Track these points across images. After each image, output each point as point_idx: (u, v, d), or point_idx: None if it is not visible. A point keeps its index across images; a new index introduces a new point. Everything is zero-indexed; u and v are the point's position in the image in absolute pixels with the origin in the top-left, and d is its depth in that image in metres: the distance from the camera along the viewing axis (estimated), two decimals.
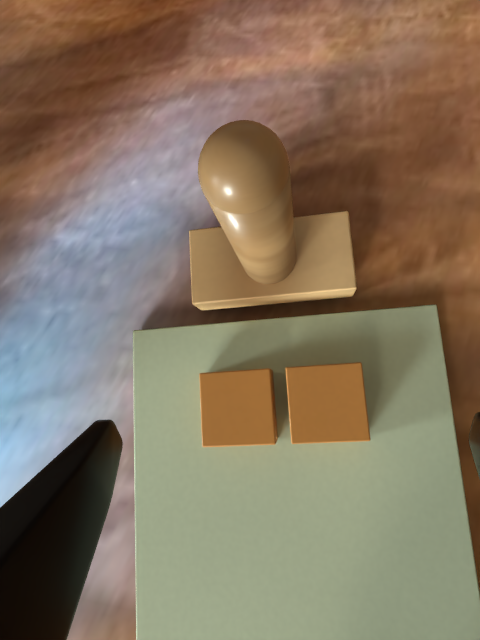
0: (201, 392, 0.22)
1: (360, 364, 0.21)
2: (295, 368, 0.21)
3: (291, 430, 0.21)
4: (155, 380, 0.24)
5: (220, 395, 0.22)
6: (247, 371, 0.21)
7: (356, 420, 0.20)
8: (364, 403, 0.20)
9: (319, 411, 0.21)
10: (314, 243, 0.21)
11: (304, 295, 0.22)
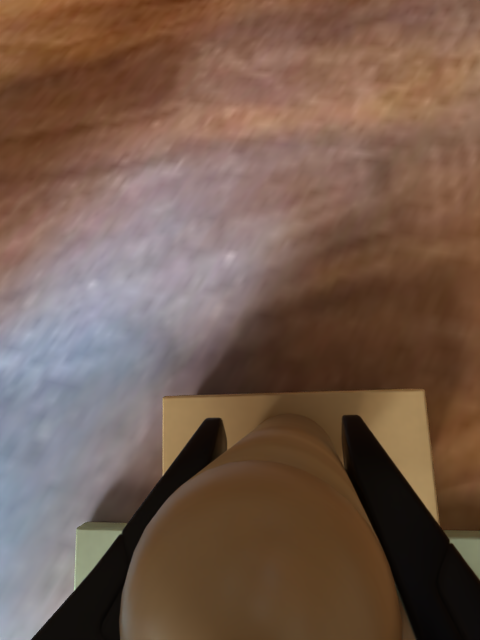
0: None
1: None
2: None
3: None
4: None
5: None
6: None
7: None
8: None
9: None
10: None
11: None
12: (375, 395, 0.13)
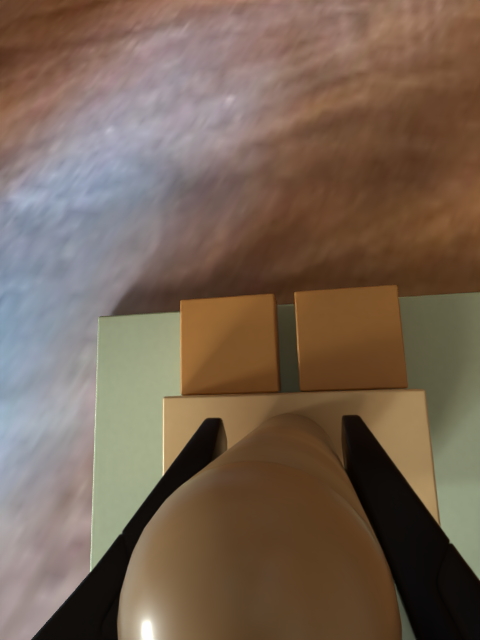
0: (182, 324, 0.16)
1: (395, 287, 0.15)
2: (307, 292, 0.16)
3: (300, 373, 0.15)
4: (125, 382, 0.18)
5: (207, 327, 0.16)
6: (243, 297, 0.16)
7: (388, 360, 0.15)
8: (400, 338, 0.15)
9: (339, 348, 0.15)
10: None
11: None
12: (375, 395, 0.13)
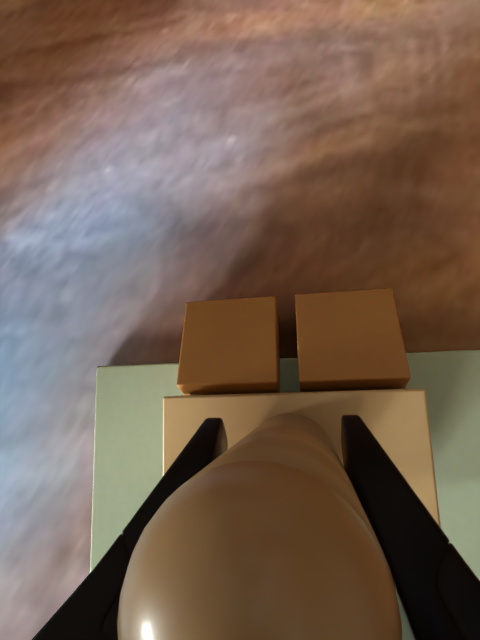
0: (185, 321, 0.17)
1: (391, 289, 0.16)
2: (307, 294, 0.17)
3: (299, 364, 0.15)
4: (123, 436, 0.18)
5: (209, 324, 0.17)
6: (246, 298, 0.17)
7: (389, 352, 0.15)
8: (399, 332, 0.15)
9: (338, 341, 0.15)
10: None
11: None
12: (375, 395, 0.13)
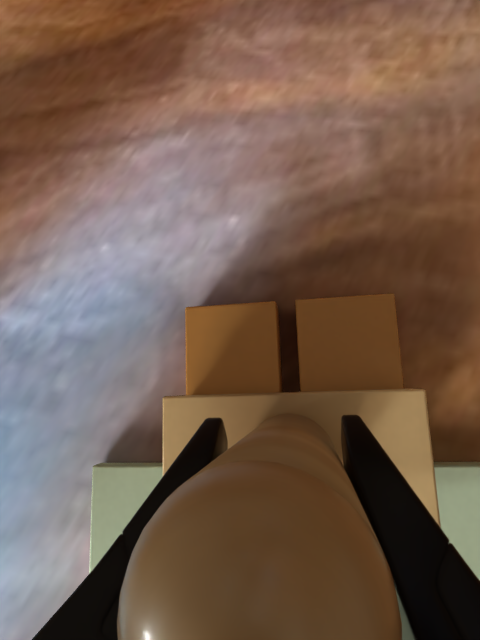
0: (187, 330, 0.17)
1: (392, 295, 0.16)
2: (308, 301, 0.16)
3: (301, 378, 0.16)
4: None
5: (211, 334, 0.17)
6: (246, 304, 0.17)
7: (385, 366, 0.16)
8: (397, 345, 0.16)
9: (338, 354, 0.16)
10: None
11: None
12: (375, 395, 0.13)
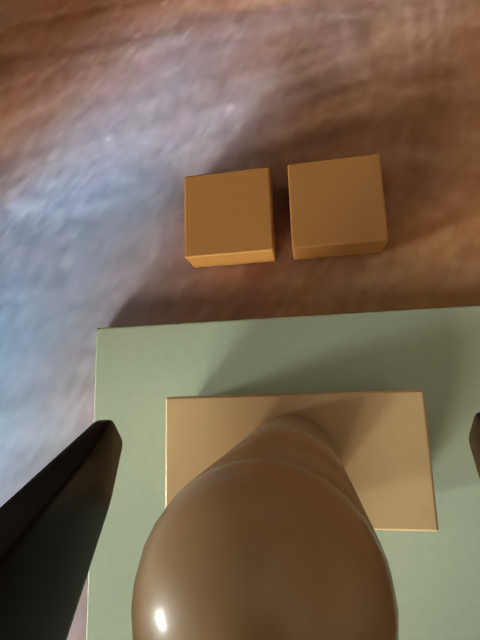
0: (186, 197, 0.18)
1: (378, 155, 0.17)
2: (299, 164, 0.18)
3: (292, 233, 0.17)
4: (123, 395, 0.18)
5: (208, 198, 0.18)
6: (241, 171, 0.18)
7: (371, 217, 0.17)
8: (382, 198, 0.17)
9: (327, 209, 0.17)
10: (366, 442, 0.13)
11: None
12: (374, 396, 0.13)
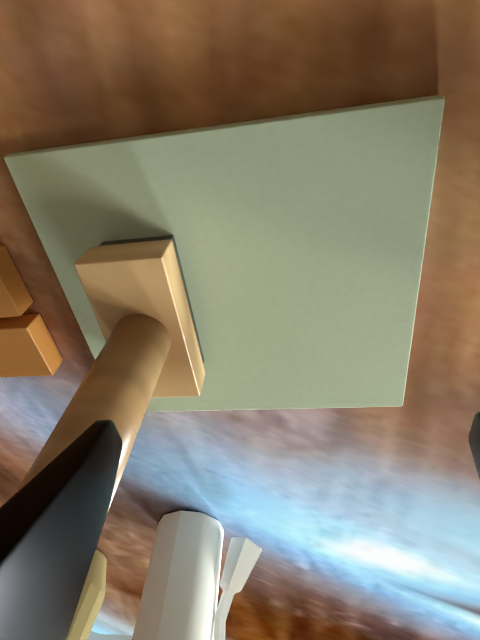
0: (12, 376, 0.27)
1: None
2: None
3: (9, 316, 0.24)
4: (154, 397, 0.28)
5: (8, 364, 0.26)
6: None
7: None
8: None
9: None
10: (118, 297, 0.19)
11: (177, 301, 0.20)
12: (88, 292, 0.19)
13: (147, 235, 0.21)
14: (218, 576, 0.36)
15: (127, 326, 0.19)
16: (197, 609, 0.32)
